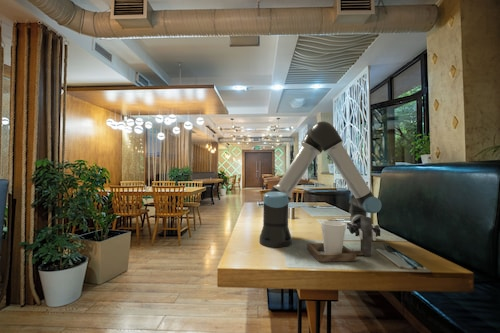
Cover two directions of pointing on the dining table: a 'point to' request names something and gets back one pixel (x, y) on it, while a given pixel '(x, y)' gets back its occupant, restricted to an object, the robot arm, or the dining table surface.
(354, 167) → the robot arm
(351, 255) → the sliding frame
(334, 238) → the foam cup
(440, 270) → the dining table surface
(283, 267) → the dining table surface
